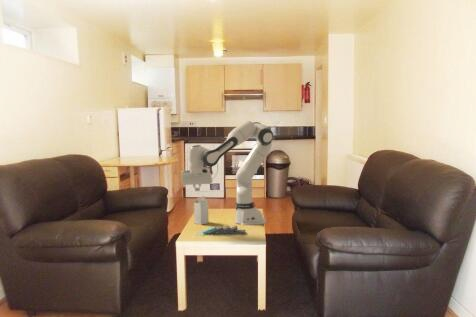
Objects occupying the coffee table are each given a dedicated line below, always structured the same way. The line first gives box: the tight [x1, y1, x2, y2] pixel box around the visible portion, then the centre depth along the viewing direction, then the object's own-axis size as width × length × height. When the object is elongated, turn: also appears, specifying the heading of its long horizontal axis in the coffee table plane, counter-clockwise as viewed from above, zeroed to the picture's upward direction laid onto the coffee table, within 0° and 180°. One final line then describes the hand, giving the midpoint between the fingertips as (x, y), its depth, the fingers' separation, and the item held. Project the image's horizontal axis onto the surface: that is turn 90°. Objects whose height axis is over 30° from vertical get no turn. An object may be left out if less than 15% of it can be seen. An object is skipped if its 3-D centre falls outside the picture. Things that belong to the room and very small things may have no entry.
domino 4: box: [225, 225, 239, 234], centre depth 219 cm, size 2×4×8 cm
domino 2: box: [210, 225, 224, 234], centre depth 219 cm, size 2×4×8 cm
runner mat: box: [195, 231, 238, 236], centre depth 219 cm, size 26×7×1 cm, turn 89°
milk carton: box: [193, 195, 209, 226], centre depth 242 cm, size 7×7×19 cm
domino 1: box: [202, 226, 217, 234], centre depth 219 cm, size 2×4×8 cm
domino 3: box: [218, 225, 231, 234], centre depth 219 cm, size 2×4×8 cm
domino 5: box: [232, 229, 246, 235], centre depth 219 cm, size 2×4×8 cm
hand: (197, 190), depth 226 cm, fingers closed
